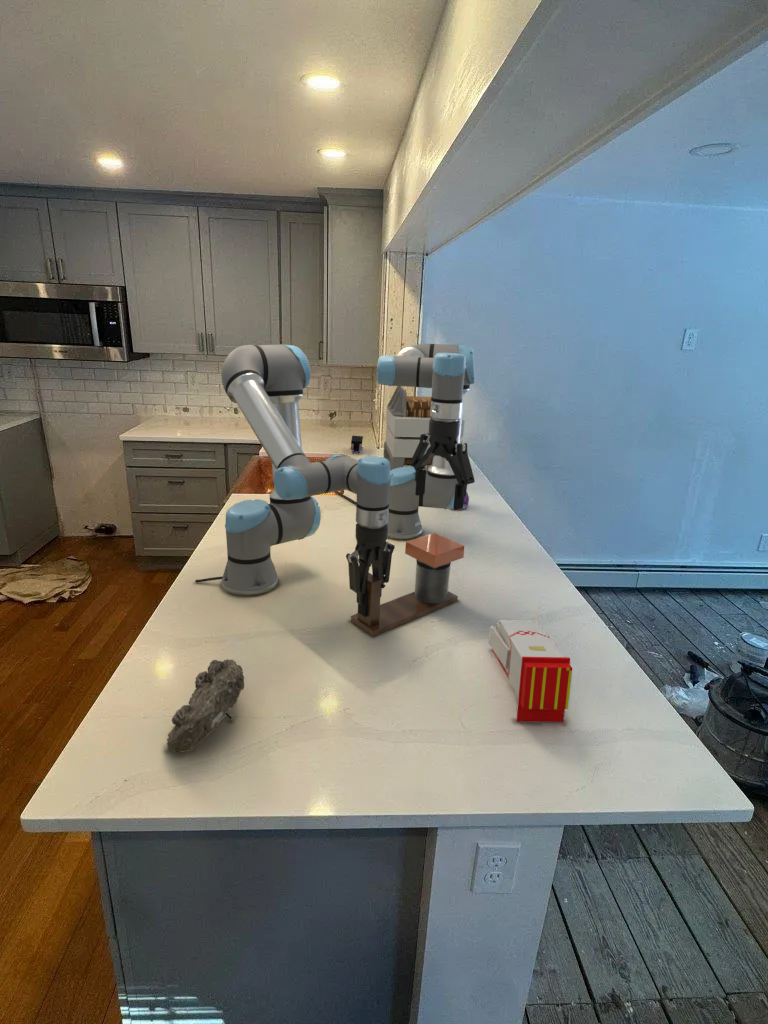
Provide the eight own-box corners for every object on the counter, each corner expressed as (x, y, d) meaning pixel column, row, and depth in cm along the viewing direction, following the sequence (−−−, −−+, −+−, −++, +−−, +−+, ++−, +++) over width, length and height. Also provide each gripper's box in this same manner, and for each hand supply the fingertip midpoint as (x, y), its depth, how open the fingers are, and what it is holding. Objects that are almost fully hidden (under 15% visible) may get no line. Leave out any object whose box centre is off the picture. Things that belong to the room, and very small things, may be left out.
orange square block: (433, 573, 144) (435, 555, 142) (404, 559, 151) (405, 541, 150) (462, 563, 150) (464, 545, 149) (433, 549, 158) (434, 532, 156)
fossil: (192, 660, 117) (244, 628, 112) (224, 691, 120) (276, 661, 115) (142, 746, 98) (202, 712, 93) (182, 779, 101) (242, 748, 96)
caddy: (373, 636, 137) (375, 586, 132) (350, 621, 143) (351, 572, 139) (457, 601, 156) (461, 556, 151) (434, 588, 162) (437, 545, 157)
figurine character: (362, 457, 305) (363, 447, 318) (362, 443, 301) (363, 434, 315) (350, 456, 304) (351, 447, 318) (350, 443, 301) (351, 434, 314)
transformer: (382, 463, 289) (386, 382, 275) (445, 464, 293) (451, 384, 279) (390, 482, 257) (394, 392, 243) (460, 483, 261) (468, 394, 247)
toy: (535, 605, 135) (581, 664, 106) (530, 657, 138) (574, 728, 108) (484, 604, 135) (517, 662, 105) (480, 656, 137) (511, 727, 108)
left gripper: (354, 536, 124) (352, 629, 132) (408, 521, 134) (402, 608, 142) (334, 525, 130) (333, 615, 138) (387, 512, 140) (383, 597, 148)
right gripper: (399, 412, 144) (395, 491, 152) (473, 429, 127) (465, 518, 134) (420, 409, 149) (415, 486, 156) (495, 426, 132) (485, 512, 139)
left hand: (368, 611), depth 140 cm, fingers closed on caddy, 3 cm apart
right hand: (438, 501), depth 145 cm, fingers open, 13 cm apart
